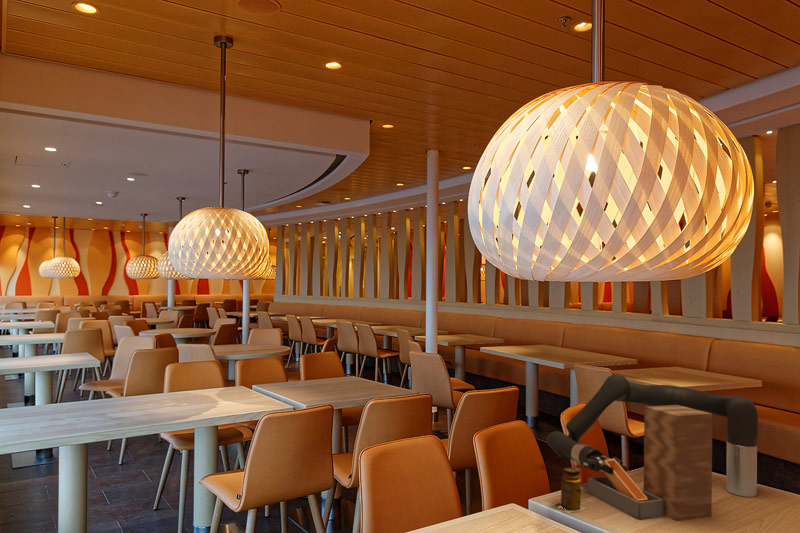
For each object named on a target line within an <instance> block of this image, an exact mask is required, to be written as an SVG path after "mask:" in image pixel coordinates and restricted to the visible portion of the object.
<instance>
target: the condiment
mask: <svg viewBox="0 0 800 533" xmlns="http://www.w3.org/2000/svg"><path fill="white" fill-rule="evenodd" d="M580 473H581V471H580V470H579V469H578V468H575V467H564V468H563V469H562V476H561V479H560V480H561V482H560V483H561V484H560V485H561V487H560V490H561V491H560V502H558V503H555V504H551V507H553V508H555V509H557V510H559V511H562V512H563V513H567V514H570V513H575V512H579V511H583V510H586V509H587V508H586V507H584V506H582V505H581V494H582V492H581V491H582V481H581V477H580V476H581V474H580ZM559 505H561V506H562V507H563V509H562V508H558V506H559ZM564 508H565V509H566V510H565V509H564ZM569 510H570V511H569Z"/></svg>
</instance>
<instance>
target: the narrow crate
mask: <svg viewBox="0 0 800 533" xmlns="http://www.w3.org/2000/svg"><path fill="white" fill-rule="evenodd" d="M603 463H604V465H608V466H610V467H612V468H613V474H609V473H607V472H602V473H603V474H604V476H606V477H607V478H608V479H609V481H610V482H611V483H612V484H613V486H614V487H615V488H616V489H617V491H618V492H620V493H622V494H624V495H626V496H628V497H630V498H632V499H634V500H636V501H638V502H644V501H648V500H649V499H648V498H647V497H646V496H645V494H644V493H643V492H642V491H641V490H640V489H641V488H640V487H639V486H638V485H637V484H636V482H635V481H634V480H633V478H632V477H630V475H629V474H628V473H627V472H625V471H624V469H623V468H622V467H621V466H620V465H619V464H618V462H617V461H616V460H615V459H613V458H611V459H607V460H604V461H603Z"/></svg>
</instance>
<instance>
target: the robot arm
mask: <svg viewBox="0 0 800 533" xmlns="http://www.w3.org/2000/svg"><path fill="white" fill-rule="evenodd" d="M614 402H624V403H625V402H626V403H636V404H643V405H647V406H666V405H680V406H684V407H688V408H692V409H696V410H700V411H703V412H707V413H711V414H712V415H717V416H719V417H725V418H726V420H727V421H726V423H727V424H726V425H727V426H726V481H725V482H726V486H725V487H726V488H725V489H726V491H727V492H728V493H730V494H733V495H737V496H741V497H747V498H748V497H749V498H750V497H753V498H754V497H757V491H758V490H757V482H758V479H757V478H758V477H757V476H758V468H757V467H758V463H757V462H758V444H757V443H758V431H759V430H758V428H759V426H758V425H759V417H758V409H757V407H756V406H755V404H754V402H753V401H752V400H750V399H749V398H747V397H745V396H741V395H740V396H738V395H737V396H736V395H725V394H721V395H720V394H714V393H709V392H706V391H701V390H697V389H692V388H688V387H683V386H677V385H671V384H651V385H650V384H648V385H647V384H640V383H636V382H632V381H629V380H628V379H627V378H626V377H625V376H624V375H622V374H617V373H614V374H612V375H609V376H608V377H607V378H606V379H605V380H604V382H603V384H602V385H601V387H600V388H599V389H598V391H597V392H596V393H595V394H594V395H593V397H592V398H591V399H590V400H589V401H588V402H587V403H586V404H585V405H584V406H582V408H581V409H580V410H579V411H578V412H577V413H576V414H575V415H574V416H573V417H572V418H571V419H570V420H569V421H568V422H567V423H566V424H565V428H566V430H567V432H568V435H567V434H565V433H564V432H562V431H558V430H555V431H552V432H550V433H548V435H547V437H546V443H547V445H548V447H550V449H551V450H552V451H553V452H554V453H555V454H557V456H558V457H560V458H568V459H569V460H571V461H573V462H575V463H577V464H578V465H580V466H583V468H586V469H587V470H590V471H593V472H596V473H597V472H599V471H600V472H602V473H603V472H607V473H609V474H613V468H612V467H610V466H608V465H604V463H603V461H604V460H607V459H615V460H616V461H617V462H618V464H619V465H620V466H621V467H622V468H623V469H624V471H625V472H626V473H627V469H628V468H627V466H626V465H624V464H623V461H622V460H621V459H619V458H618V457H617V456H613V457H612V458H610V457H607V456H606V455H604V454H603V453H602V451H601V450H599V449H598V448H595V447H593V446H590V445H588V444H586V443H581V442H579V441H580V440H581V438H582V437H583V436H584V435H585V434H586V433H587V431H589V430H591V427H593V425H594V424H595V423H596V422H597V420H598V419H599V418H600V416H602V413H603V412H604V411H605V410H606V409H607V408H608V407H609V406H611V404H613V403H614Z"/></svg>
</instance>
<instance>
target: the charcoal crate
mask: <svg viewBox="0 0 800 533" xmlns="http://www.w3.org/2000/svg"><path fill="white" fill-rule="evenodd" d="M640 490H641V491H642V492H643V493H644V494H645V496H646V497H647V498H648V499H649V500H648V501H644V502H638V501H636V500H634V499H632V498H630V497H628V496H626V495H624V494H622V493H620V492H618V491H617V489H616V488H615V487H614V486H613V484H612V483H611V482H610V481H609V479H608V478H607V477H606V475H602V476H601V475H600V476H592V477H587V493H588V494H590V495H591V496H594V497H596V498H597V499H600V500H602V501H603V502H605V503H607V504H609V505H610V506H612V507H614V508H616V509H617V510H619V511H622V512H623V513H625V514H627V515H629V516H631V517H633V518H634V519H637V520H638V521H639V520H646V519H654V518H663V517H665V515H664V501H665V500H663V499H661V498H659V497H657V496H655V495H653V494H650V493H648V492H646V491H644V489H642V488H640Z"/></svg>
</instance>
